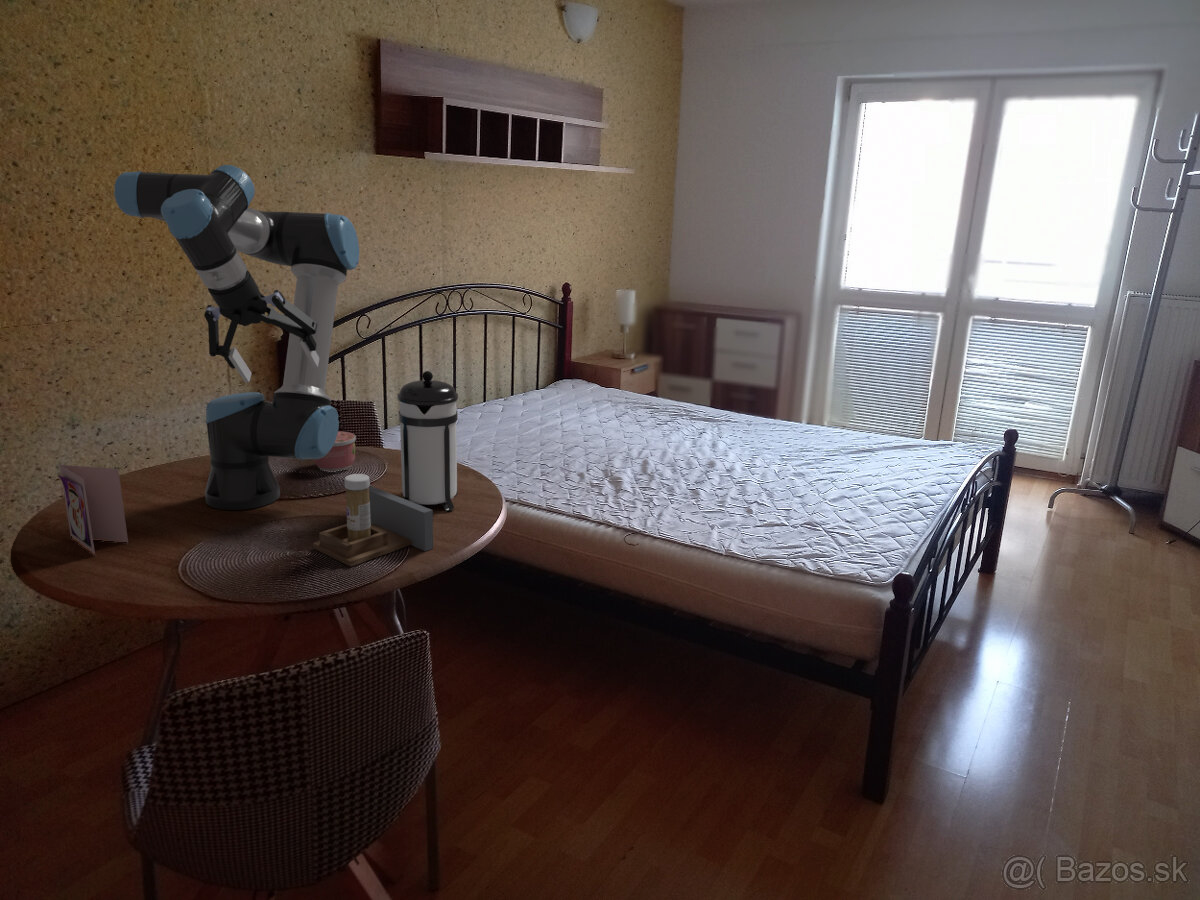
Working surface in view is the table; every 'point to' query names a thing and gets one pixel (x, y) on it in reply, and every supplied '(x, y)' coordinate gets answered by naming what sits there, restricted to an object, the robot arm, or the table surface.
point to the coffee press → (428, 441)
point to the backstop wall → (402, 517)
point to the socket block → (359, 544)
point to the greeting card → (93, 504)
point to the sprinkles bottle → (357, 506)
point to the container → (339, 453)
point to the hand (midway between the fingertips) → (282, 370)
